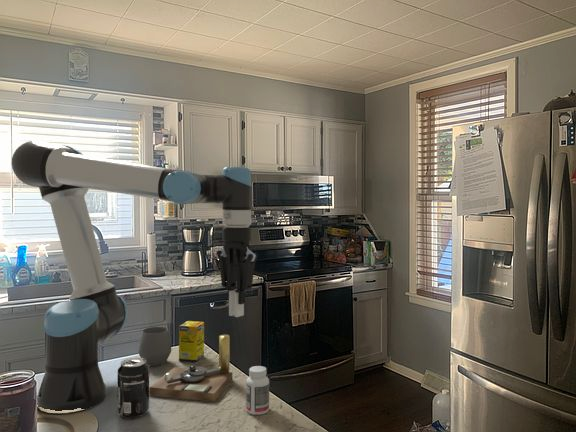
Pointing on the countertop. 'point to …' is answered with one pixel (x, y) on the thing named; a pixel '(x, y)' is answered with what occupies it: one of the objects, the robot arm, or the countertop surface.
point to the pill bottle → (257, 391)
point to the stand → (192, 386)
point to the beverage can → (133, 388)
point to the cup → (155, 345)
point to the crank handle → (199, 373)
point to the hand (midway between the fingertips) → (236, 315)
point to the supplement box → (191, 341)
